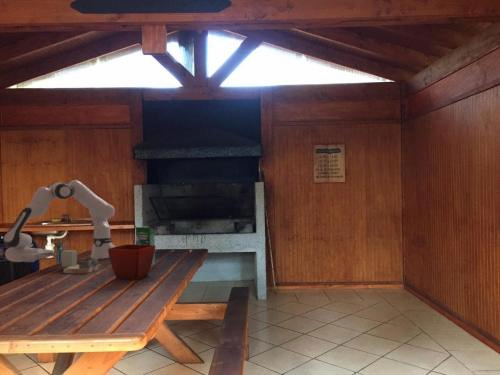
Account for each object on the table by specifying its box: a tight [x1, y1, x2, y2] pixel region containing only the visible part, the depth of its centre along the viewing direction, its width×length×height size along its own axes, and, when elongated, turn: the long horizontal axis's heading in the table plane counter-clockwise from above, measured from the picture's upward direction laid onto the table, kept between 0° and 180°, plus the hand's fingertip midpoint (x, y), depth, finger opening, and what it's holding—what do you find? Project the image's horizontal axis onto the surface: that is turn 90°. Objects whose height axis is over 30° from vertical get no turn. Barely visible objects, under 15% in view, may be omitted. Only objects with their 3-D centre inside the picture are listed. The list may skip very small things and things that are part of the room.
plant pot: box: [108, 244, 156, 281], centre depth 229 cm, size 19×19×17 cm
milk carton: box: [135, 225, 156, 267], centre depth 264 cm, size 9×9×25 cm
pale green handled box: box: [61, 243, 78, 270], centre depth 257 cm, size 5×7×15 cm
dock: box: [63, 257, 102, 274], centre depth 250 cm, size 16×15×6 cm
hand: (50, 255), depth 259 cm, fingers open, 8 cm apart
